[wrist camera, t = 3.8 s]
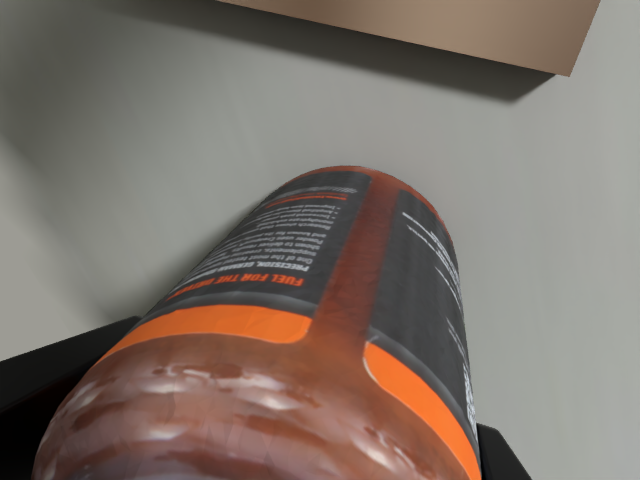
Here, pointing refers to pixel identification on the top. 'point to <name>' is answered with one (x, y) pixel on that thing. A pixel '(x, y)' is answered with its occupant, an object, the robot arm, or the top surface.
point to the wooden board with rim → (461, 25)
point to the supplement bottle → (290, 353)
